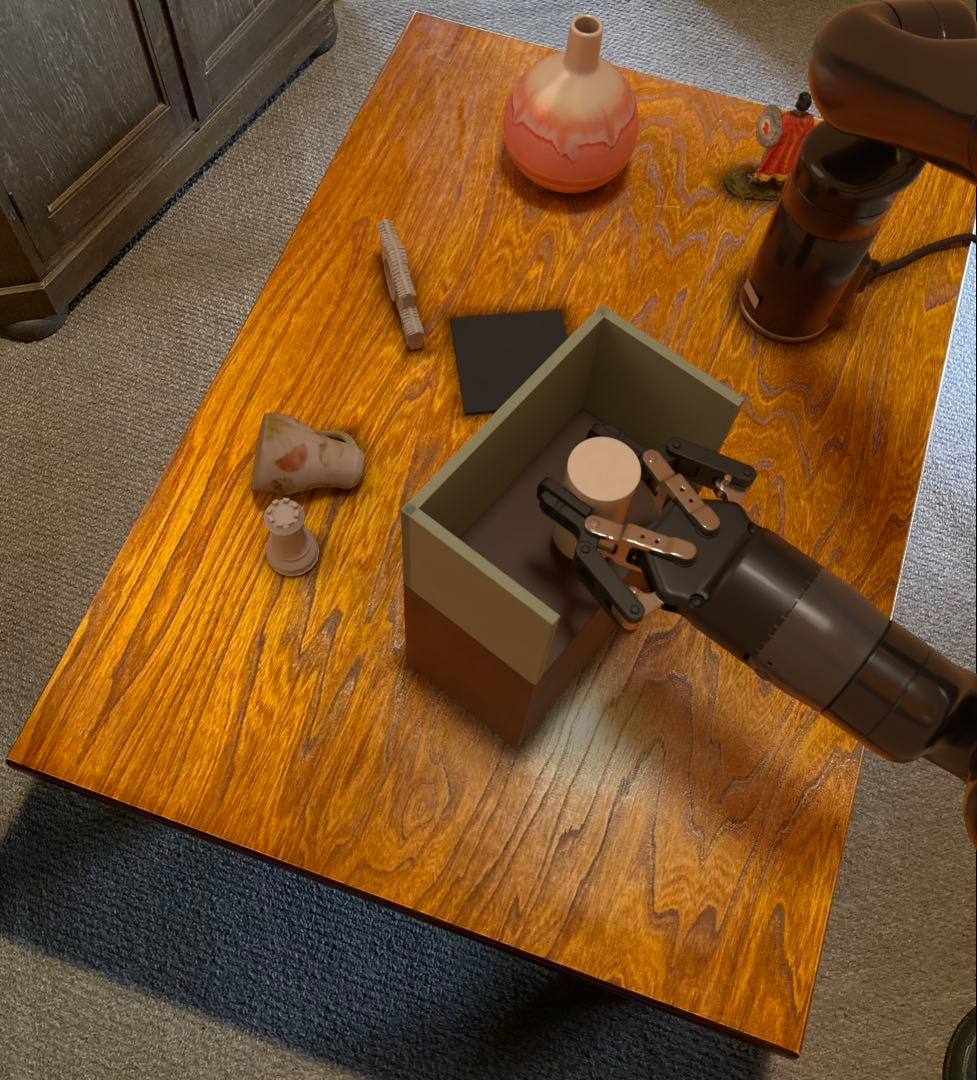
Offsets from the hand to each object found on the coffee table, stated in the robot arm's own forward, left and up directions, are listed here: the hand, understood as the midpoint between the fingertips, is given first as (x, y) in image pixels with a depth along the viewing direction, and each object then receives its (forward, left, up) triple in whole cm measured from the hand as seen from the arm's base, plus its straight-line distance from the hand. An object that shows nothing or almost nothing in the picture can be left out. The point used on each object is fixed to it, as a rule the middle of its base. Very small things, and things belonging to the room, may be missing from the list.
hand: (566, 460), depth 69 cm
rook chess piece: (+19, -8, -25) cm, 33 cm away
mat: (-3, -26, -25) cm, 36 cm away
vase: (-12, -50, -25) cm, 57 cm away
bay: (-1, 0, -25) cm, 25 cm away
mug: (+17, -16, -25) cm, 35 cm away
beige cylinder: (-2, +2, -7) cm, 7 cm away
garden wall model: (+7, -34, -25) cm, 43 cm away
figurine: (-33, -46, -25) cm, 61 cm away
